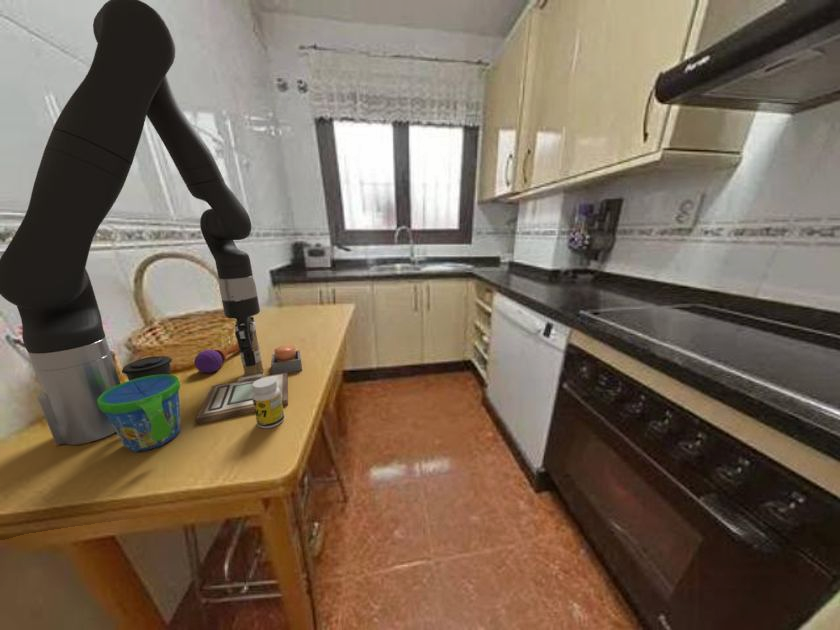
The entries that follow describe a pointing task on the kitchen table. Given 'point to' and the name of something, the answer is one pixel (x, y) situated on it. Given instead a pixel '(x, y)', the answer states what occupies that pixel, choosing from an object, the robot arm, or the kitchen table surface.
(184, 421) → the kitchen table surface
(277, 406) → the supplement bottle
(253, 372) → the spice bottle
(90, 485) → the kitchen table surface
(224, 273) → the robot arm
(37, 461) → the kitchen table surface
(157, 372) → the coffee cup
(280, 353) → the button
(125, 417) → the snack cup
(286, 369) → the button collar
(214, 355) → the kendama
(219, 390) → the colouring board
